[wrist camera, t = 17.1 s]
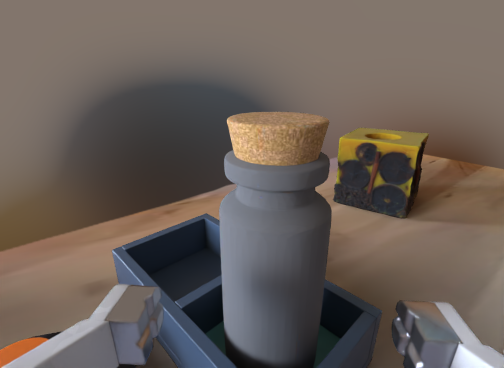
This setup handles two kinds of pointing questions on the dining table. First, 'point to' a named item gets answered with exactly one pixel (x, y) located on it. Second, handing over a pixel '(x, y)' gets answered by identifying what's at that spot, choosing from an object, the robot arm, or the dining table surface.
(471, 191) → the dining table surface
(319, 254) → the bottle
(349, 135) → the candle
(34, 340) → the button
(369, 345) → the tray
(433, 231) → the dining table surface
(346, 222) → the dining table surface
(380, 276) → the dining table surface
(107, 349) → the robot arm
